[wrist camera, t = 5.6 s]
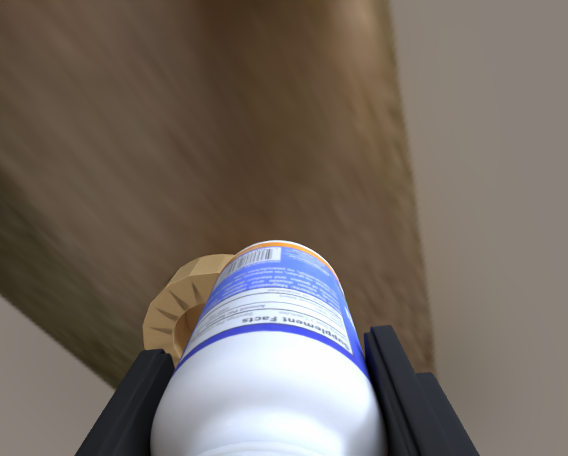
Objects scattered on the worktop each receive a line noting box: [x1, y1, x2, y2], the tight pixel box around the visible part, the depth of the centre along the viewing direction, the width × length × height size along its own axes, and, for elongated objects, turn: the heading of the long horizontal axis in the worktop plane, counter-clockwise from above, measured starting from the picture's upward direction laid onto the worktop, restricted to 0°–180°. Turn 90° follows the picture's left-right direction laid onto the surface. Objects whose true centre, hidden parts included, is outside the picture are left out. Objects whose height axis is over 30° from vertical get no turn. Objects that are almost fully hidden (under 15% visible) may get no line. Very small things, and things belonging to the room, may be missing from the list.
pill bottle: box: [150, 240, 388, 456], centre depth 9 cm, size 5×5×10 cm
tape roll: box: [143, 254, 235, 369], centre depth 29 cm, size 12×12×4 cm
